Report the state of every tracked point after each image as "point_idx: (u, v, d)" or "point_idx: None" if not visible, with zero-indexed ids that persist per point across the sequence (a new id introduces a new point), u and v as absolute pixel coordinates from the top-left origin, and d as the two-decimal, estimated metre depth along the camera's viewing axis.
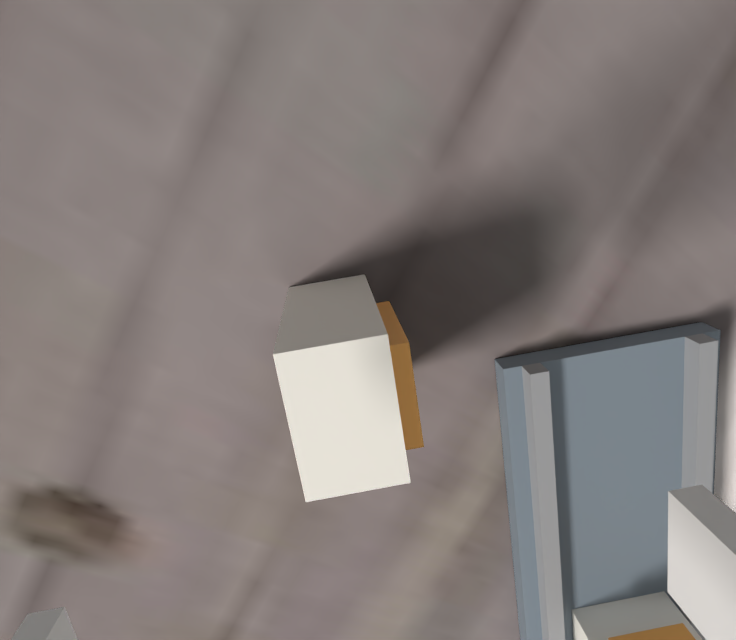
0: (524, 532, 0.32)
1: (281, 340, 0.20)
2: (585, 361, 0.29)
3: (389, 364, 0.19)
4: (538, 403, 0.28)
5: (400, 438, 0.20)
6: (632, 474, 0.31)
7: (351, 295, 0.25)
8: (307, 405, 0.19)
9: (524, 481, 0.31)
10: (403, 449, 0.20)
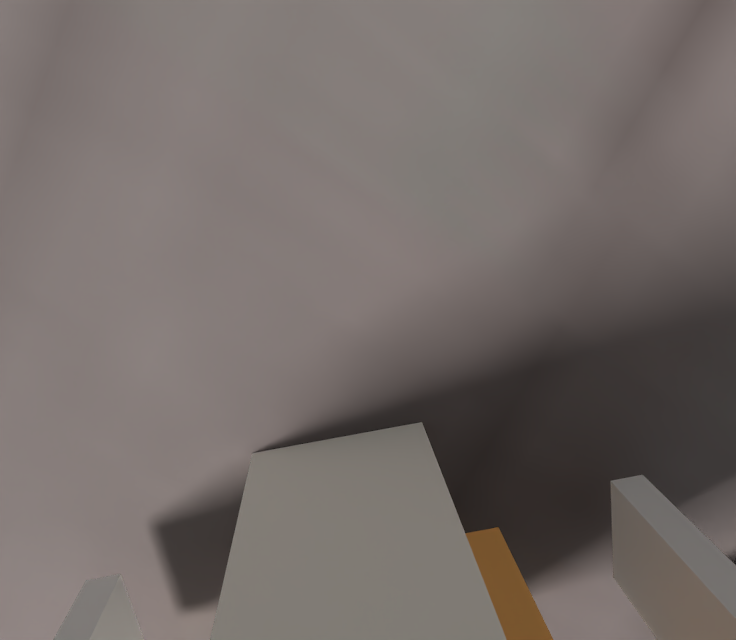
0: None
1: None
2: None
3: None
4: None
5: None
6: None
7: (409, 540, 0.09)
8: None
9: None
10: None
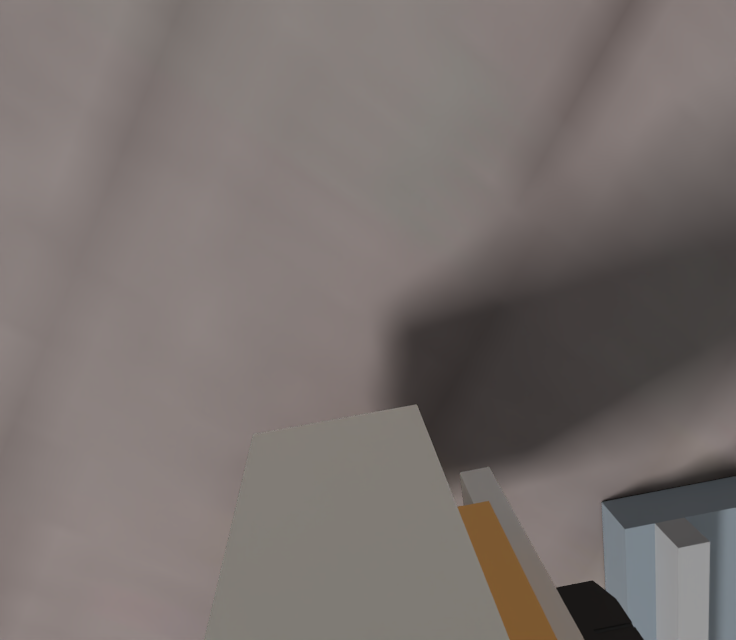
0: None
1: None
2: None
3: None
4: (688, 592, 0.17)
5: None
6: None
7: (403, 511, 0.09)
8: None
9: None
10: None
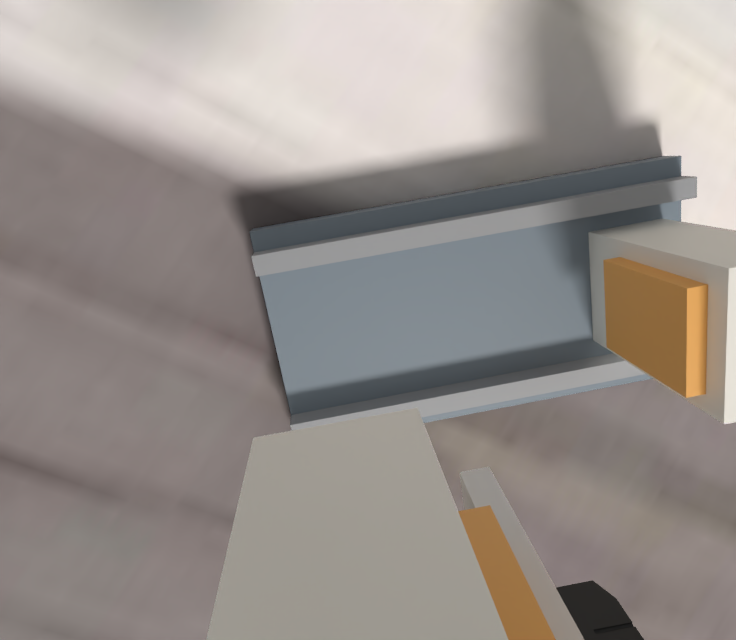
0: (484, 404, 0.30)
1: None
2: (289, 371, 0.29)
3: None
4: None
5: None
6: (423, 300, 0.28)
7: (404, 516, 0.09)
8: None
9: None
10: None
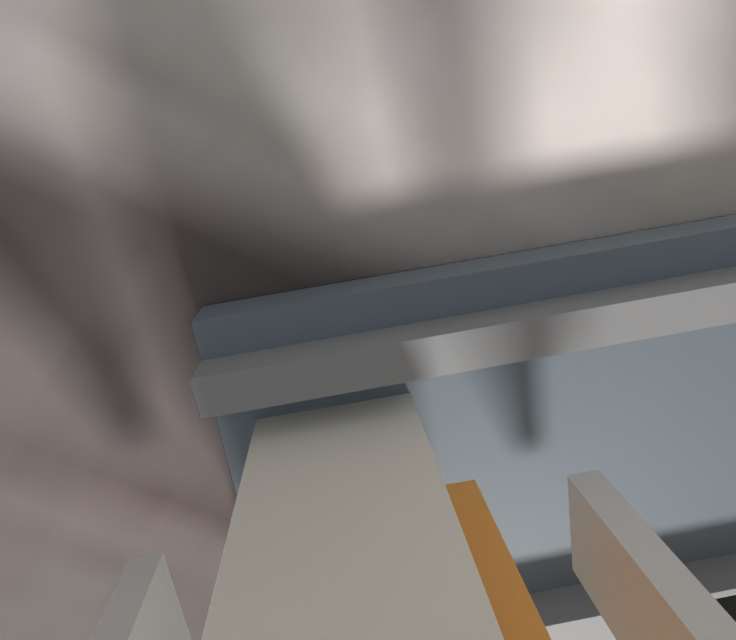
0: None
1: None
2: None
3: None
4: None
5: None
6: (530, 444, 0.15)
7: (394, 485, 0.10)
8: None
9: None
10: None
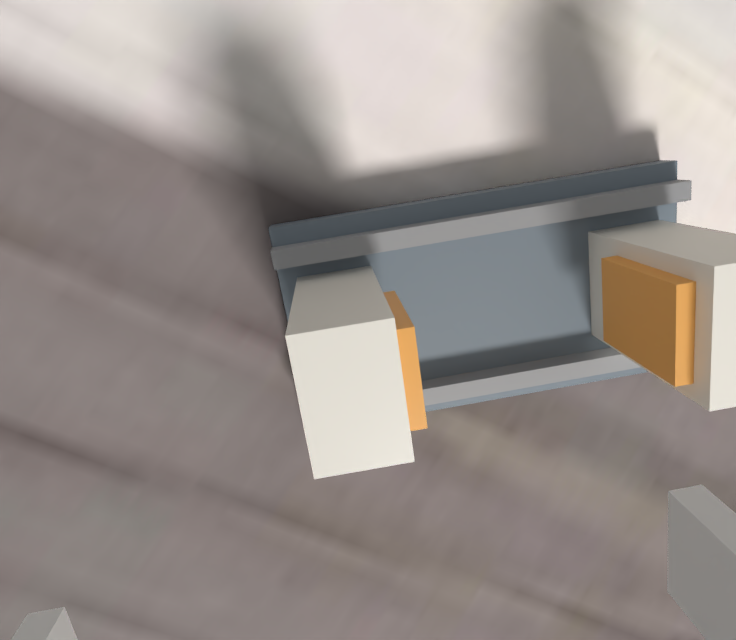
0: (486, 394, 0.32)
1: (292, 323, 0.21)
2: None
3: (395, 347, 0.20)
4: None
5: (405, 418, 0.21)
6: (430, 294, 0.30)
7: (358, 284, 0.25)
8: (316, 385, 0.20)
9: None
10: (408, 429, 0.21)
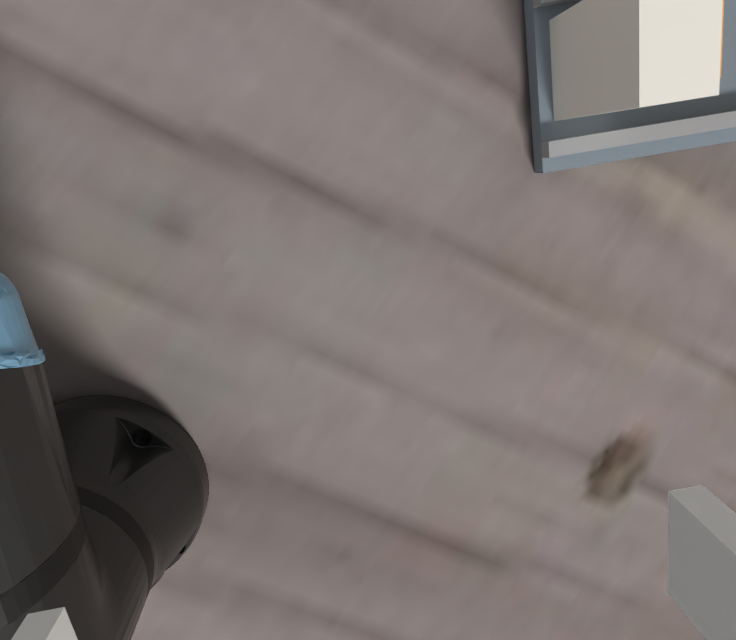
0: (693, 141, 0.37)
1: None
2: (544, 101, 0.35)
3: None
4: (574, 148, 0.35)
5: (718, 52, 0.26)
6: None
7: None
8: (655, 15, 0.25)
9: (644, 146, 0.37)
10: (718, 62, 0.26)
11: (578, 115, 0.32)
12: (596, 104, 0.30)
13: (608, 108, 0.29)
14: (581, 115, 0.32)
